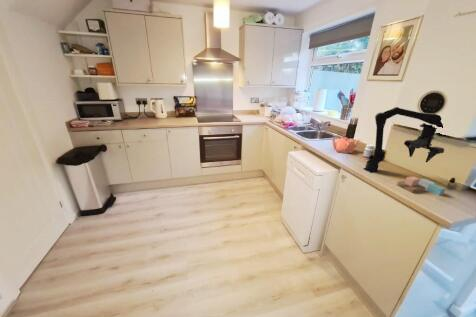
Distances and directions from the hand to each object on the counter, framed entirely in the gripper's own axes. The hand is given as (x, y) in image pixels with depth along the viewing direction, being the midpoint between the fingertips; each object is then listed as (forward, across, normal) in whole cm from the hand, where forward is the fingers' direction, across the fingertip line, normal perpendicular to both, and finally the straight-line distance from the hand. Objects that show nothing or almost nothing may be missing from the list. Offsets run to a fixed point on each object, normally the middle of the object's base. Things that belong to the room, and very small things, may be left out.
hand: (418, 159), depth 125 cm
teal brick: (+13, +17, -6) cm, 22 cm away
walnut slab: (+14, +10, -15) cm, 23 cm away
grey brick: (+13, +11, -4) cm, 18 cm away
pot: (+13, -57, -3) cm, 59 cm away
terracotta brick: (+10, +10, -15) cm, 21 cm away
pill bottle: (+13, -36, +2) cm, 38 cm away
